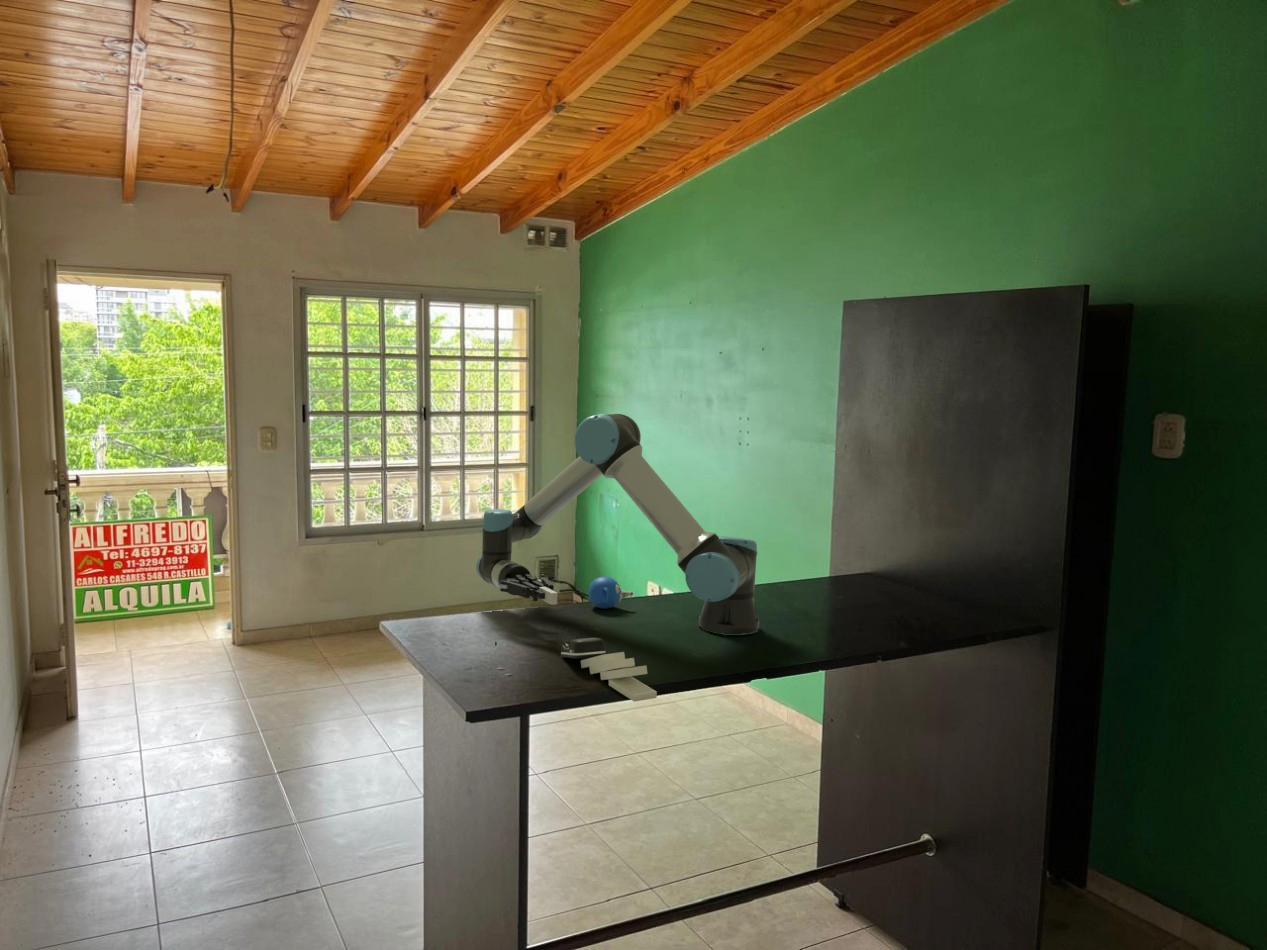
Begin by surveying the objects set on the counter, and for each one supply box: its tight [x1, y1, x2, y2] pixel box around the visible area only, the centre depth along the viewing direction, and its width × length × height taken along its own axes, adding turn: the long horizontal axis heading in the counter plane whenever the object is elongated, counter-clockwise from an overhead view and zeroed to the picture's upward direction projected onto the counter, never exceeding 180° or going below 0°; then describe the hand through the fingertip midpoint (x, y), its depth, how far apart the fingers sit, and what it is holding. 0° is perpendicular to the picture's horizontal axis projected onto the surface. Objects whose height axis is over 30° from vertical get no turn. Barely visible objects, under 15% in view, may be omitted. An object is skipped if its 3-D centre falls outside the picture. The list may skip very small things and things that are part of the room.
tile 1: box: [580, 651, 626, 669], centre depth 181 cm, size 5×2×10 cm
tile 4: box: [608, 676, 658, 702], centre depth 171 cm, size 5×2×10 cm
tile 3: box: [599, 665, 648, 681], centre depth 174 cm, size 5×2×10 cm
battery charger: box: [560, 637, 607, 660], centre depth 187 cm, size 7×4×11 cm
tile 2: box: [588, 657, 636, 675], centre depth 178 cm, size 5×2×10 cm
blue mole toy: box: [588, 576, 634, 610], centre depth 234 cm, size 12×12×8 cm
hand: (554, 598), depth 200 cm, fingers closed
